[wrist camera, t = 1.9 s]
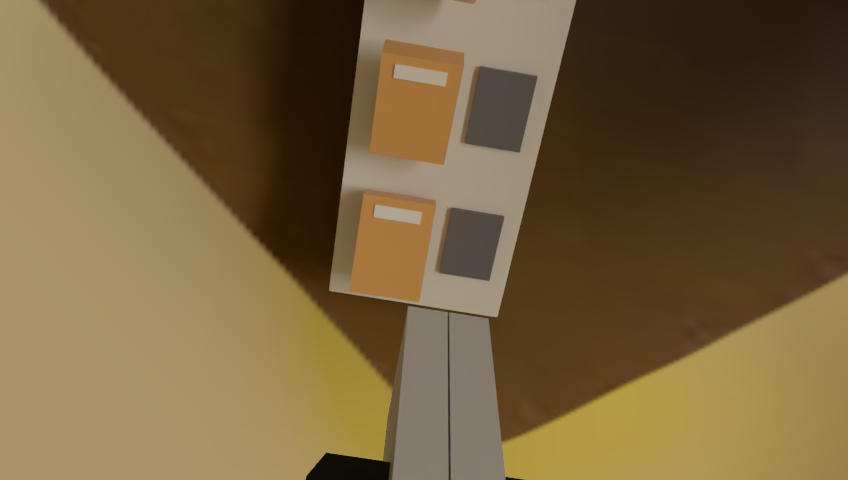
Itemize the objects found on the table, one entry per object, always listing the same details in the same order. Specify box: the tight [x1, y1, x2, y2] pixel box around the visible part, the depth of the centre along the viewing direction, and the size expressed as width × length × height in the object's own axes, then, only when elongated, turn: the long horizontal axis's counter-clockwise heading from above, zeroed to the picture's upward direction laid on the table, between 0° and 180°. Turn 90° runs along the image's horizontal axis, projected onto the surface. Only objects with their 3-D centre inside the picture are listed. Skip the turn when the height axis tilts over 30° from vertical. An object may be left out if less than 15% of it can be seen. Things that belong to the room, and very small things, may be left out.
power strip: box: [329, 0, 576, 317], centre depth 32 cm, size 28×9×5 cm, turn 171°
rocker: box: [349, 189, 436, 302], centre depth 33 cm, size 5×3×2 cm
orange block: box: [369, 39, 464, 165], centre depth 30 cm, size 5×3×2 cm
